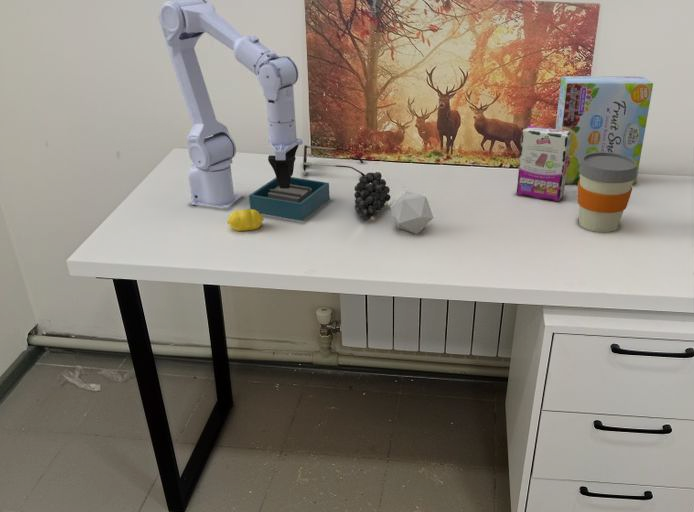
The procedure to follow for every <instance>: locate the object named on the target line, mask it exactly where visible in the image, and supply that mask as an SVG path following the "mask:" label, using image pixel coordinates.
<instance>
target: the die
mask: <svg viewBox="0 0 694 512" xmlns="http://www.w3.org/2000/svg"><path fill="white" fill-rule="evenodd" d="M389 208H390V211H391V213H392V216H393V218H394V221H395V224H396V226H397V228H398V229H400V230H403V231H405V232H409V233H412V234H415V235H418V234H419V233H420V232H421V231H422V230H423V229H424V228H425V227H426V226H427V225H428V224H429V223H430V222H432V220H433V219H434V214H433V212H432V209H431V207H430V204H429V201H428V198H427V196H425V195H423V194H420V193H416V192H413V191H410V190H406V191H405V192H404V193H402V195H400V197H398V198H397V200H396V201H395V202H393V203H392V204H391V205H390V206H389Z"/></svg>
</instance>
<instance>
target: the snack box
mask: <svg viewBox="0 0 694 512" xmlns="http://www.w3.org/2000/svg"><path fill="white" fill-rule="evenodd" d="M559 85H560V86H559V92H558V93H559V94H558V101H557V102H558V103H557V112H556V121H555V127H554V129H559V130H566V131H572V132H571V140H570V148H569V155H568V163H567V171H566V179H565V185H567V184H574V185H575V184H578V182H579V181H580V173H579V167H580V164H581V160H582V157H583V156H584V155H586V154H589V153H595V152H609V153H616V154H621V155H625V156H628V157H630V158H632V159H634V160H635V161H636V162H637V171H636V178H635V179H634V180H633V183H632V184H637V180H638V173H639V168H640V162H641V156H642V151H643V145H644V140H645V134H646V127H647V122H648V117H649V111H650V105H651V99H652V94H653V93H652V92H653V87H654V82H652V81H650V80H649V79H648V78H647V77H645V76H644V75H643V76H637V75H634V76H633V75H631V76H630V75H628V76H627V75H623V76H622V75H563V76H560V84H559Z"/></svg>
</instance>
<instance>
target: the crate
mask: <svg viewBox="0 0 694 512" xmlns="http://www.w3.org/2000/svg"><path fill="white" fill-rule="evenodd" d="M290 184H291V185H298V186H304V187H310V188H312V194H311V195H310V196H308V197H307V198H306V199H304V200H303V201H302V202H300V203H299V202H293V201H287V200H281V199H275V198H269V197H268V193H269V192H270V189H275V188H277V187H278V186H279V185H278V181H277V178H276V177H274V178H272V179H271V180H269V181H268V182H267V183H265V184H264V185H262V186H261V187H259V188H258V189H256V190H255V191H253V192H252V193H250V194H249V195H248V202H249V209H254V210H256V211H258V212H259V213H260V214H261V215H264V216H265V215H266V216H271V217H277V218H283V219H287V220H288V219H289V220H295V221H300V222H303V221H304V220H305V219H307V218H308V217H309V216H310V215H312V214H313V213H314V212H315V211H317V210H318V209H319V208H321V207H322V206H323V205H324V204H326V203H327V202H328V201H329V200H330V198H331V196H330V182H325V181H320V180H313V179H306V178H300V177H293V176H291V183H290Z"/></svg>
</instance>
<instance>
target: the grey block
mask: <svg viewBox="0 0 694 512" xmlns="http://www.w3.org/2000/svg"><path fill="white" fill-rule="evenodd" d="M311 194H312V188H310V187H304V186H298V185H291V184H290V188H289V189H287V188H280V187H279V186H278V187H277V188H275V189H270V192H269V193H268V197H269V198H275V199H281V200H287V201H293V202H299V203H300V202H302V201H303V200H304V199H306V198H307V197H308V196H310V195H311Z"/></svg>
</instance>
